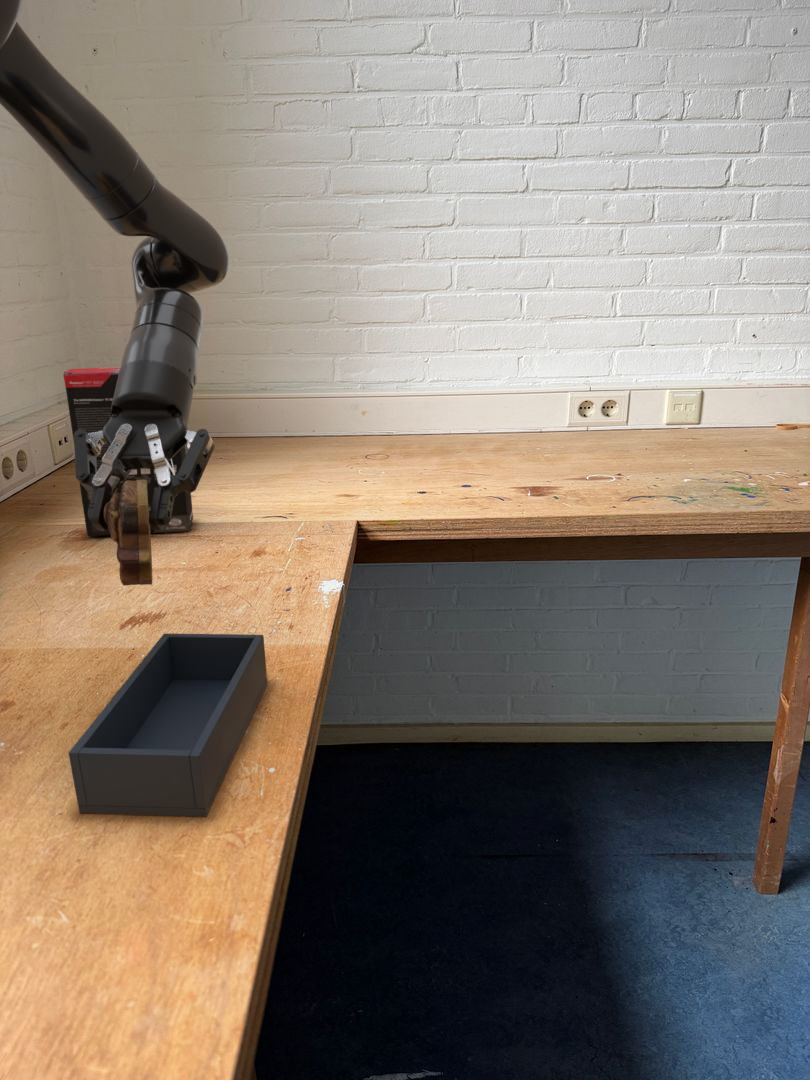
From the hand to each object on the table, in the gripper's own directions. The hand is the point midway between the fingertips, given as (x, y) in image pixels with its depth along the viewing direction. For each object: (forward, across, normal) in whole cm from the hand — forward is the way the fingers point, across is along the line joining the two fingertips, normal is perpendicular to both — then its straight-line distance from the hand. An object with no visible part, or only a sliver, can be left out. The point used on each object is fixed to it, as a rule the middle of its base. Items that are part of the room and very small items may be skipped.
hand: (127, 526), depth 75 cm
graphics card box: (-25, -22, +53) cm, 63 cm away
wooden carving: (+3, 0, +6) cm, 7 cm away
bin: (+18, +6, +8) cm, 21 cm away
